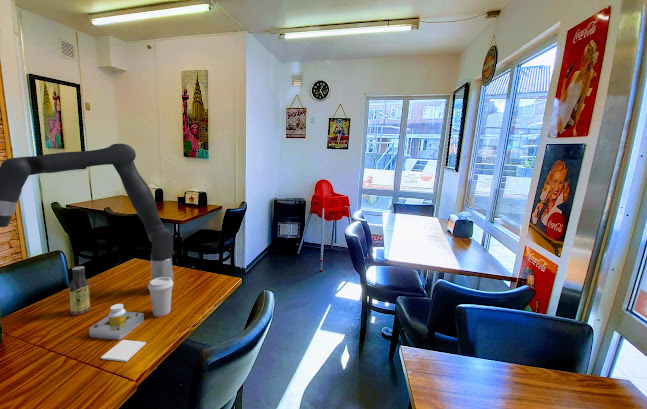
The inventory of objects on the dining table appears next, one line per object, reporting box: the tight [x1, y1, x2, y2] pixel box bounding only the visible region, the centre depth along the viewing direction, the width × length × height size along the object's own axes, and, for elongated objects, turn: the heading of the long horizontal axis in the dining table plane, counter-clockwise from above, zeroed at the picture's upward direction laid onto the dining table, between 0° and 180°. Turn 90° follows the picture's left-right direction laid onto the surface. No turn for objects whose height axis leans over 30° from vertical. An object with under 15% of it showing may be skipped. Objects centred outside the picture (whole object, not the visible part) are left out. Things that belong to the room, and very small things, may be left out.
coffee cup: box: [147, 277, 174, 318], centre depth 116 cm, size 10×10×15 cm
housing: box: [88, 311, 145, 341], centre depth 104 cm, size 12×12×4 cm
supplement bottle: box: [108, 303, 127, 326], centre depth 104 cm, size 5×5×10 cm
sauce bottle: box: [68, 265, 91, 316], centre depth 112 cm, size 7×6×20 cm
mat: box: [100, 339, 147, 363], centre depth 93 cm, size 9×9×1 cm
